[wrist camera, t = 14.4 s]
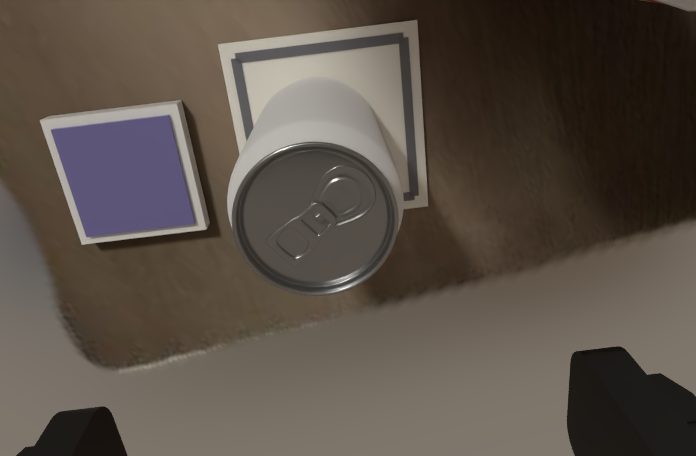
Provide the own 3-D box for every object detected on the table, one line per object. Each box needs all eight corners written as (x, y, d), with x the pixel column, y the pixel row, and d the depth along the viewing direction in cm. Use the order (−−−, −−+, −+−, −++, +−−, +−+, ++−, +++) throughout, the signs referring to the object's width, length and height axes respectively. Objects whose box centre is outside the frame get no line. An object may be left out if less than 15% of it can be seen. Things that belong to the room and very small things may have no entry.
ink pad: (48, 116, 29) (37, 121, 28) (181, 100, 29) (175, 104, 28) (89, 237, 32) (80, 246, 30) (210, 222, 31) (205, 231, 30)
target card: (218, 44, 28) (217, 44, 27) (416, 19, 28) (417, 20, 27) (254, 225, 32) (254, 227, 31) (427, 204, 32) (428, 206, 31)
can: (403, 137, 30) (450, 224, 19) (318, 216, 31) (315, 338, 20) (318, 47, 28) (315, 84, 17) (231, 135, 29) (177, 223, 18)
